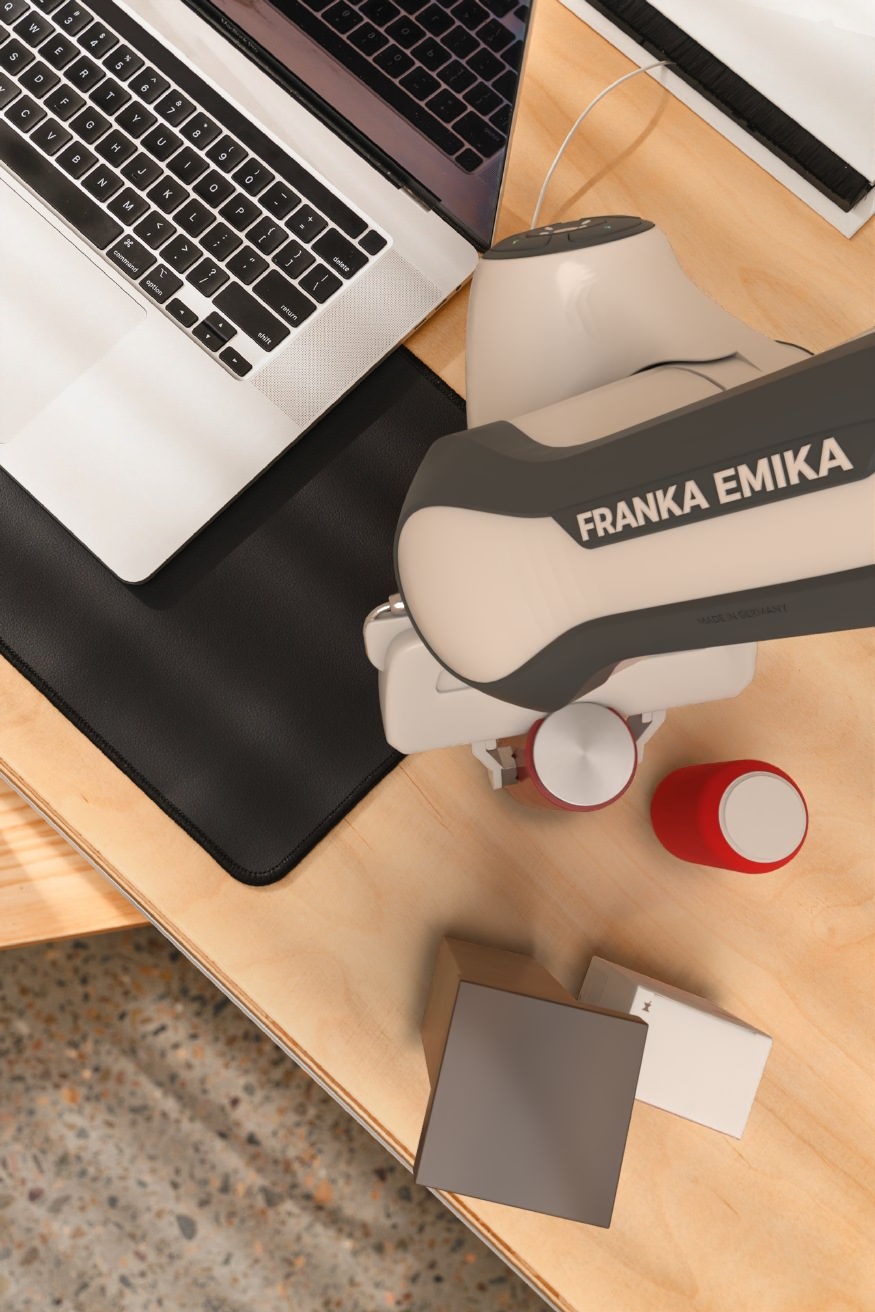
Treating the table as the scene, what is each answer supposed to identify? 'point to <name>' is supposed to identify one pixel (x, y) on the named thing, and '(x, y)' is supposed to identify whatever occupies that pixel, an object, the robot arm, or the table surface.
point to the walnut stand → (524, 1087)
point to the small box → (685, 1048)
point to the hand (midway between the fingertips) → (565, 769)
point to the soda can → (574, 759)
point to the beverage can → (731, 815)
